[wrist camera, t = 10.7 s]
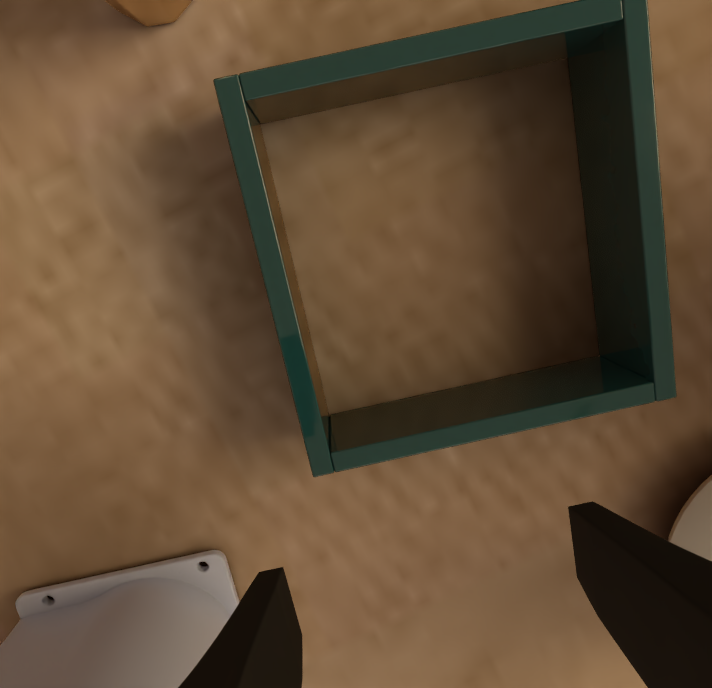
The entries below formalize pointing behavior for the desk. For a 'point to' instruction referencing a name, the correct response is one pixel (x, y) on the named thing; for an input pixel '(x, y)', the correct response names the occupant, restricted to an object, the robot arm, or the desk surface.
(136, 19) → the milkshake
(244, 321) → the desk surface
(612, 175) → the holder
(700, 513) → the flower in vase
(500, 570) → the desk surface
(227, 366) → the desk surface
